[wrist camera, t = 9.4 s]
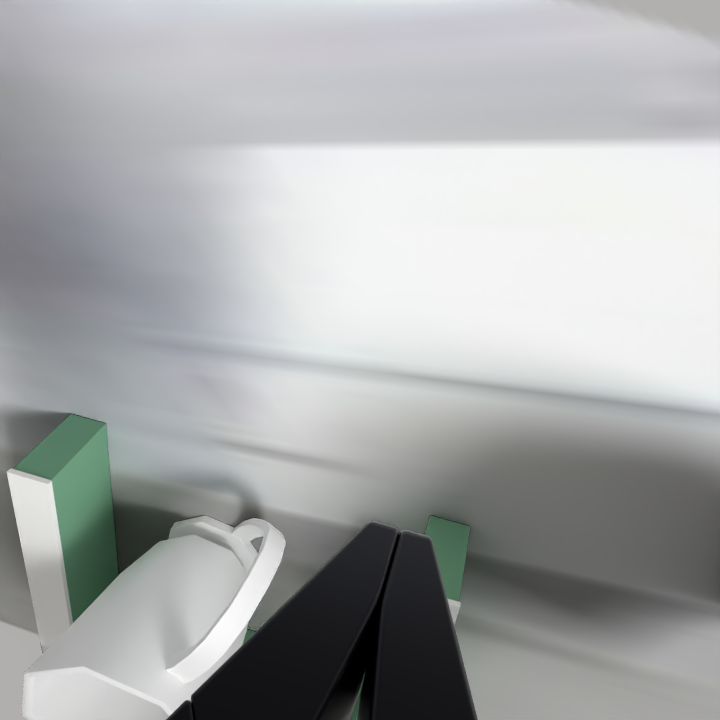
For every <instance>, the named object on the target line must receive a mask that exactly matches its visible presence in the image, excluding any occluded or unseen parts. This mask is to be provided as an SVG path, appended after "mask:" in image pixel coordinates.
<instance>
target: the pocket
mask: <svg viewBox="0 0 720 720" xmlns="http://www.w3.org/2000/svg"><path fill="white" fill-rule="evenodd" d="M7 476H8V481H9V486H10V491H11V497H12V502H13V507H14V512H15V517H16V522H17V527H18V532H19V537H20V542H21V547H22V552H23V557H24V562H25V567H26V572H27V578H28V583H29V588H30V593H31V598H32V603H33V608H34V613H35V618H36V623H37V628H38V633H39V638H40V643H41V648H42V653H44V652H45V651H46V650H47V649H48V648H49V647H50V646H51V645H52V644H53V643H54V642H55V641H56V640H57V639H58V638H59V637H60V636H61V635H62V634H63V633H64V632H65V631H66V630H67V629H68V628H69V627H70V626H71V625H72V624H73V623H74V622H75V621H76V620H77V619H78V618H79V617H80V616H81V614H82V613H83V612H84V611H85V610H86V609H87V608H88V607H89V606H90V605H91V604H92V603H93V602H94V601H95V600H96V599H97V598H98V597H99V596H100V595H101V593H102V592H103V591H104V590H105V589H106V588H107V587H108V586H109V585H110V584H111V583H112V582H113V581H114V580H115V579H116V578H117V577H118V576H119V574H118V562H117V550H116V538H115V527H114V515H113V503H112V491H111V480H110V468H109V456H108V444H107V433H106V424H105V423H102V422H98V421H95V420H91V419H87V418H84V417H80V416H77V415H73V414H70V415H69V416H68V417H67V418H66V419H65V420H64V421H63V422H62V423H61V424H60V425H59V426H58V427H57V428H55V429H54V430H53V431H52V432H51V433H50V434H49V435H48V436H47V437H46V438H45V439H44V440H43V441H42V442H41V443H40V444H39V445H38V446H36V447H35V448H34V449H33V450H32V451H31V452H30V453H29V454H28V455H27V456H26V457H25V458H24V459H23V460H22V461H21V462H20V463H18V464H17V465H16V466H15V467H14V468H13V469H12V468H10V469H9V470H8V471H7ZM469 532H470V526H466V525H463V524H459V523H456V522H452V521H449V520H445V519H442V518H438V517H434V516H431V515H430V517H429V521H428V524H427V528H426V531H425V535H427V536H429V537H430V538H431V539H432V541H433V543H434V547H435V551H436V555H437V559H438V563H439V567H440V571H441V575H442V579H443V583H444V587H445V591H446V595H447V599H448V603H449V607H450V611H451V615H452V619H453V623H454V624H455V621H456V619H457V616H458V613H459V610H460V606H461V602H459V601H460V594H461V587H462V580H463V573H464V566H465V560H466V553H467V546H468V539H469ZM254 633H255V632H254V631H251V630H248V629H247V631H246V635H245V638H244V641H243V644H244V643H245V642H246V641H247V640H248V639H249V638H250V637H251V636H252V635H253V634H254ZM363 680H364V678H363ZM362 684H363V682H362ZM361 689H362V685H361V688H360V692H359V695H358V698H357V701H356V704H355V706H354V709H353V712H352V715H351V717H350V720H356V717H357V711H358V705H359V699H360V693H361Z"/></svg>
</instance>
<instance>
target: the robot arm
mask: <svg viewBox="0 0 720 720" xmlns="http://www.w3.org/2000/svg"><path fill="white" fill-rule="evenodd" d="M399 533H400V535H399ZM363 678H364V680H363ZM362 682H363V684H362ZM361 685H362V689H361V693H360V699H359V705H358V711H357V717H356V720H478V719H477V715H476V711H475V707H474V703H473V699H472V695H471V691H470V687H469V683H468V679H467V675H466V671H465V667H464V663H463V659H462V655H461V651H460V647H459V643H458V639H457V635H456V631H455V627H454V623H453V619H452V615H451V611H450V607H449V603H448V599H447V595H446V591H445V587H444V583H443V579H442V575H441V571H440V567H439V563H438V559H437V555H436V551H435V547H434V543H433V541H432V539H431V538H430V537H429V536H427V535H423V534H420V533H416V532H413V531H409V530H402V531H401V532H399V529H398V528H397V527H395V526H391V525H388V524H384V523H381V522H377V521H370V522H368V523H367V524H366V525H365V526H364V527H362V528H361V529H360V530H359V531H358V532H357V533H356V534H355V535H354V536H353V537H352V538H351V539H350V540H349V541H348V542H347V543H346V544H345V545H344V546H343V547H342V548H341V549H340V550H339V551H338V552H337V553H336V554H335V555H334V556H333V557H332V558H331V559H330V560H329V561H328V562H327V563H326V564H325V565H324V566H323V567H322V568H321V569H320V570H319V571H318V572H316V573H315V574H314V575H313V576H312V577H311V578H310V579H309V580H308V581H307V582H306V583H305V584H304V585H303V586H302V587H301V588H300V589H299V590H298V591H297V592H296V593H295V594H294V595H293V596H292V597H291V598H290V599H289V600H288V601H287V602H286V603H285V604H284V605H283V606H282V607H281V608H280V609H279V610H278V611H277V612H276V613H275V614H274V615H273V616H272V617H271V618H269V619H268V620H267V621H266V622H265V623H264V624H263V625H262V626H261V627H260V628H259V629H258V630H257V631H256V632H255V633H254V634H253V635H252V636H251V637H250V638H249V639H248V640H247V641H246V642H245V643H244V644H243V645H242V646H241V647H240V648H239V649H238V650H237V651H236V652H235V653H234V654H233V655H232V656H231V657H230V658H229V659H228V660H227V661H226V662H225V663H223V664H222V665H221V666H220V667H219V668H218V669H217V670H216V671H215V672H214V673H213V674H212V675H211V676H210V677H209V678H208V679H207V680H206V681H205V682H204V683H203V684H202V685H201V686H200V687H199V688H198V689H197V690H196V691H195V692H194V693H193V694H192V695H191V701H189V700H186V701H184V702H183V703H182V704H181V705H180V706H179V707H178V708H177V709H176V710H175V711H174V712H173V713H172V714H171V715H170V716H169V717H168V718H167V719H166V720H350V717H351V715H352V712H353V709H354V706H355V704H356V701H357V698H358V695H359V692H360V688H361Z"/></svg>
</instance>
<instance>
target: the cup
mask: <svg viewBox="0 0 720 720" xmlns="http://www.w3.org/2000/svg"><path fill="white" fill-rule="evenodd" d="M262 536H264V537H263V540H262V543H261V546H260V550H259V552H258V553H257V551H256V550H255V548H254V547H253V545H252V544H251V542H250V541H251V540H253V539H254V538H258V537H262ZM285 545H286V542H285V539H284V537H283V534H282V533H280V532H279V531H278V530H277V529H276V528H274V527H273V526H272V525H271V524H269V523H268V522H267V521H264V520H262V519H257V518H252V519H249V520H245V521H243V522H242V523H240V524H239V525H238V526H236V527H235V528H234V527H231V526H229V525H227V524H225V523H222V522H220V521H218V520H215V519H213V518H211V517H209V516H206V515H205V516H201V517H196V518H192V519H187V520H183V521H178V522H175V523H174V524H173V526H172V527H171V530H170V534H169V538H168V540H164V541H159V542H158V543H157V544H155V545H154V546H153V547H152V548H151V549H149V550H148V551H147V552H146V553H145V554H143V555H142V556H141V557H140V558H138V559H137V560H136V561H135V562H134V563H132V564H131V565H130V566H129V567H128V568H126V569H125V570H124V571H123V572H122V573H120V575H119V576H118V577H117V578H116V579H115V580H114V581H113V582H112V583H111V584H110V585H109V586H108V587H107V588H106V589H105V590H104V591H103V592H102V593H101V595H100V596H99V597H98V598H97V599H96V600H95V601H94V602H93V603H92V604H91V605H90V606H89V607H88V608H87V609H86V610H85V611H84V612H83V613H82V614H81V616H80V617H79V618H78V619H77V620H76V621H75V622H74V623H73V624H72V625H71V626H70V627H69V628H68V629H67V630H66V631H65V632H64V633H63V634H62V635H61V636H60V637H59V638H58V639H57V640H56V641H55V642H54V643H53V644H52V645H51V646H50V647H49V648H48V649H47V650H46V651H45V652H44V653H43V654H42V655H41V656H40V657H39V658H38V659H37V660H36V661H35V662H34V663H33V664H32V666H31V667H30V668H29V669H28V670H27V671H26V672H25V673H24V686H23V700H22V715H23V716H24V717H25V718H26V719H27V720H166V719H167V718H168V717H169V716H170V715H171V714H172V713H173V712H174V711H175V710H176V709H177V708H178V707H179V706H180V705H181V704H182V703H183V702H184V701H186V700H189V701H191V695H192V694H193V693H194V692H195V691H196V690H197V689H198V688H199V687H200V686H201V685H202V684H203V683H204V682H205V681H206V680H207V679H208V678H209V677H210V676H211V675H212V674H213V673H214V672H215V671H216V670H217V669H218V668H219V667H220V666H221V665H222V664H223V663H225V662H226V661H227V660H228V659H229V658H230V657H231V656H232V655H233V654H234V653H235V652H236V651H237V650H238V649H239V648H240V647H241V646H242V645H243V641H244V638H245V635H246V631H247V627H248V621H249V620H250V618H251V616H252V615H253V613H254V611H255V609H256V608H257V606H258V604H259V602H260V601H261V599H262V597H263V596H264V594H265V592H266V590H267V589H268V587H269V585H270V583H271V581H272V579H273V577H274V575H275V573H276V571H277V569H278V567H279V565H280V563H281V559H282V556H283V552H284V548H285Z"/></svg>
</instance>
